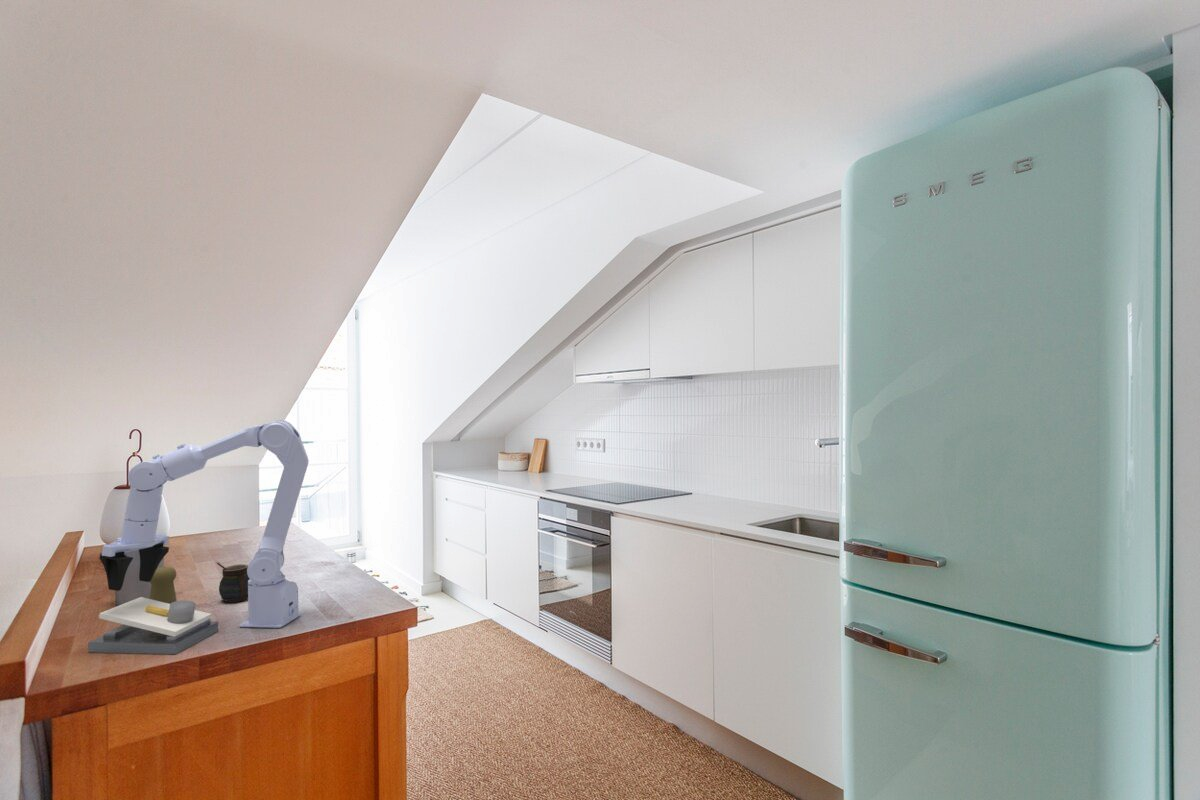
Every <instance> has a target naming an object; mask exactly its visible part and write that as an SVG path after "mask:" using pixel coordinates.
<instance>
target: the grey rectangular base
mask: <svg viewBox="0 0 1200 800" xmlns="http://www.w3.org/2000/svg"><path fill="white" fill-rule="evenodd" d="M218 632H219V621H211V618H210V619H208V620H207V621H205V622H203V623H201V624H199V625H197V626H195V627H193V628H191V629H189V630H187V631H185V632H183V633H181V634H179V635H177V636H175V637H173V636H169V635H165V634H161V633H157V632H153V631H149V630H145V629H141V628H137V627H133V626H128V625H124V624H121V625H119V626H117V627H115V628H113V629H110V630H108V631H105V632H103V634H102V635H101V636H99V637H97V638H94V639H92V640H89V641H88V642H87V650H88V651H87V652H88V653H97V654H98V653H99V654H103V653H105V654H138V655H139V654H140V655H141V654H142V655H143V654H144V655H177V654H179V653H181V652H183V651H185V650H186V649H188V648H190V647H192V646H193V645H197V643H199V642H201V641H203V640H205V639H206V638H209V637H211V636H212V635H214V634H215V633H218Z"/></svg>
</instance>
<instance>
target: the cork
mask: <svg viewBox="0 0 1200 800" xmlns="http://www.w3.org/2000/svg"><path fill="white" fill-rule="evenodd" d="M176 576H177V572H176V569H175V568H174V567H172V566H164V567H160V568H157V569H156V571H155V573H154V575H153V577H152V580H151V581H150V583H151V590H150V597H149V599H152V600H156V601H160V602H164V603H168V604H171V603H172V602H175V601H178V600H177V595H176V589H175V582H174V581H175V579H176Z"/></svg>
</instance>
